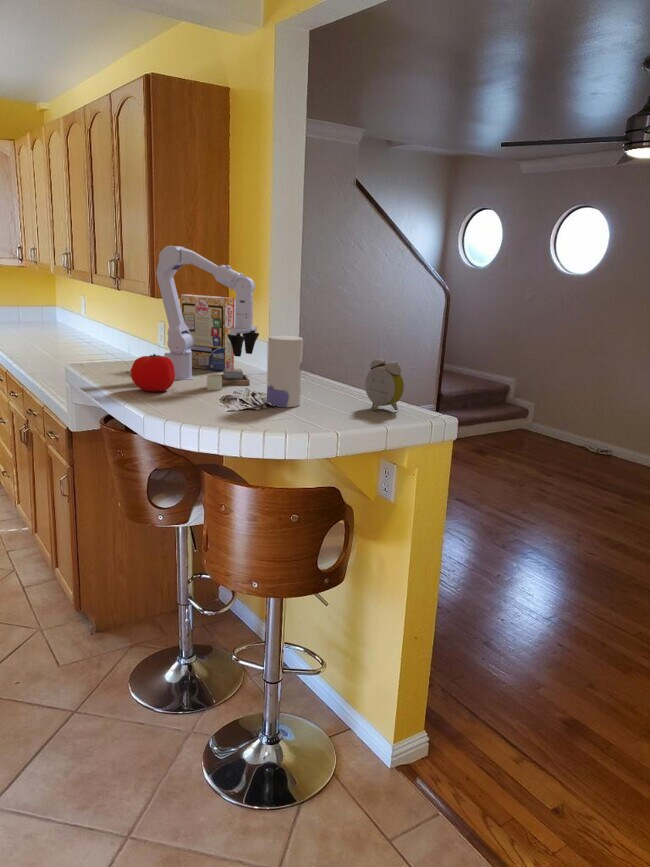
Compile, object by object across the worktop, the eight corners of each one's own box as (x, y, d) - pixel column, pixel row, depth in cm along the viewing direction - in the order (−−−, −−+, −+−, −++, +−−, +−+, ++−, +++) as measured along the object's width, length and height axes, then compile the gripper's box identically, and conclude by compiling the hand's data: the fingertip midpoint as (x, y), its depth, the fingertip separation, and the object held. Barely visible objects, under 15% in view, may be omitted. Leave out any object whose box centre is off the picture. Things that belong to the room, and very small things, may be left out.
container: (307, 405, 199) (310, 338, 194) (282, 409, 193) (284, 340, 187) (284, 399, 206) (287, 334, 201) (259, 403, 199) (261, 335, 194)
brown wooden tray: (213, 386, 220) (213, 380, 219) (210, 380, 230) (210, 374, 230) (249, 386, 223) (249, 380, 222) (245, 380, 233) (245, 374, 232)
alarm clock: (403, 412, 196) (407, 362, 193) (387, 415, 192) (391, 363, 188) (374, 404, 205) (377, 356, 201) (358, 407, 200) (362, 357, 196)
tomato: (178, 394, 206) (178, 356, 203) (133, 395, 200) (132, 357, 197) (171, 386, 216) (170, 351, 213) (128, 387, 211) (127, 351, 208)
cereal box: (234, 370, 251) (235, 297, 244) (225, 372, 245) (225, 298, 238) (189, 364, 259) (189, 293, 252) (179, 366, 254) (179, 294, 247)
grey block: (224, 383, 223) (224, 371, 222) (223, 380, 229) (223, 368, 228) (242, 383, 224) (242, 371, 223) (240, 380, 230) (240, 368, 229)
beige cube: (207, 391, 212) (207, 377, 211) (206, 388, 216) (206, 375, 215) (221, 391, 213) (222, 377, 212) (220, 388, 217) (220, 375, 216)
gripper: (243, 316, 213) (242, 358, 217) (265, 313, 226) (264, 353, 230) (224, 314, 216) (224, 356, 220) (247, 312, 229) (246, 351, 233)
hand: (243, 354), depth 225 cm, fingers open, 7 cm apart
